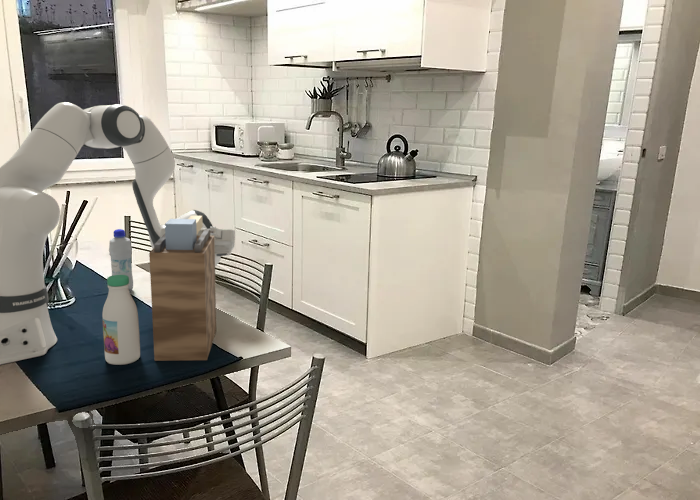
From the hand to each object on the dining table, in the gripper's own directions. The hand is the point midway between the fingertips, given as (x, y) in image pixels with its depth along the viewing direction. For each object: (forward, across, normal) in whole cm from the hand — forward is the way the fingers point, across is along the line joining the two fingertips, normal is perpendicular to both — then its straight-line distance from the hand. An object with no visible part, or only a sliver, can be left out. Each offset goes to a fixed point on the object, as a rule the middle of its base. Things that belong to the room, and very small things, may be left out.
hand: (194, 228), depth 155 cm
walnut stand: (+2, 0, +31) cm, 31 cm away
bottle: (-35, -27, +10) cm, 45 cm away
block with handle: (+9, 0, +5) cm, 10 cm away
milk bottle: (+8, -13, +35) cm, 38 cm away
